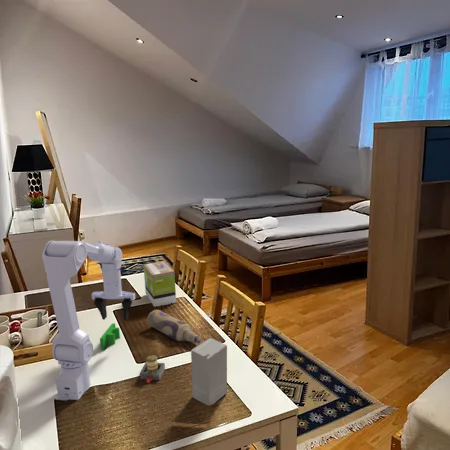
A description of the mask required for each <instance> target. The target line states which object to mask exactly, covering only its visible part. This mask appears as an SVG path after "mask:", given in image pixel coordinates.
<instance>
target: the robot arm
mask: <svg viewBox="0 0 450 450" xmlns="http://www.w3.org/2000/svg"><path fill="white" fill-rule="evenodd" d="M41 258H42V261H43V262H42V263H43V266H44V270H45V273H46V280H47V284H48V285H47V286H48V290H49V294H50V297H51V302H52V308H53V311H54V316H55V320H56V324H57V328H58V333H56V335H55V336H54V337H53V339H52V340H51V342H52V349H51V351H52V353H51V355H52V357H53V359H54V360H55V361H57V364H58V365H60V371H59V373H58V375H57V376H56V379H55V384H56V391H57V395H56V396H55V398H54V399H55V400H56V401H68V400H72V401H73V400H76V401H78V400H80V398H82V395H84V394H85V393H86V391H87V390H89V389H90V387H91V379H90V369H89V362H90V360H91V359H92V357H93V353H94V344H93V342H92V341H91V340H90V336H89V333H87V332H85V331H84V330H83V329H81V328H80V324H79V323H80V322H79V319H78V314H77V310H76V305H75V299H74V294H73V290H72V285H71V278H72V277H75V276H76V275H77V274H78V272H79V270H80V269H81V267H82V265H83V264H84V262H85V260H86V258H88V259H89V260H91V261H93V262H98V264H101V271H102V280H103V282H102V283H103V291H93V292H92V293H91V299H92V300H94V302H93V304H94V306H95V307H96V308H97V310H98V312H99V314H100V316H101V318H102V320H106V318H108V312H107V300H122V302H121V307H122V311H123V320H124V321H127V320H128V319H129V313H130V308H131V305H132V303H133V302H134V301H135V299H136V293H135V292H130V291H124V290H123V289H122V288H123V287H122V275H121V268H122V260H123V251H122V249H121V248H120V247H119V246H111V245H110V244H108V243H105V244H104V242H103V241H101V240H99V241H98V240H97V241H96V242H93V243H88V242H86V241H81V240H80V241H78V240H52V239H51V240H48V241H47V242H46V243H45V245H44V248H43V251H42V252H41Z"/></svg>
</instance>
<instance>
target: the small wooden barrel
mask: <svg viewBox="0 0 450 450" xmlns="http://www.w3.org/2000/svg"><path fill="white" fill-rule="evenodd" d="M145 361H146V362H147V372H154V373H158V363H159V362H158V356H157V355H155V354H154V355H151V354H150V355H148V356H147V357H146V358H145ZM146 362H145V363H146Z"/></svg>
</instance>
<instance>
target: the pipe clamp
mask: <svg viewBox="0 0 450 450" xmlns="http://www.w3.org/2000/svg"><path fill="white" fill-rule="evenodd" d="M116 339H117V340H118V339H119V340H120V339H121V334H120V327H116V323H115V322H113V323H111V324H110V325H109V326H108V328H107V329H106V330H105V332H103V334H102V335H101V337H100V338H99V345H100V350H101V351H105V350H106V349H107V347H108V346H110V345H115V344H116Z"/></svg>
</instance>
